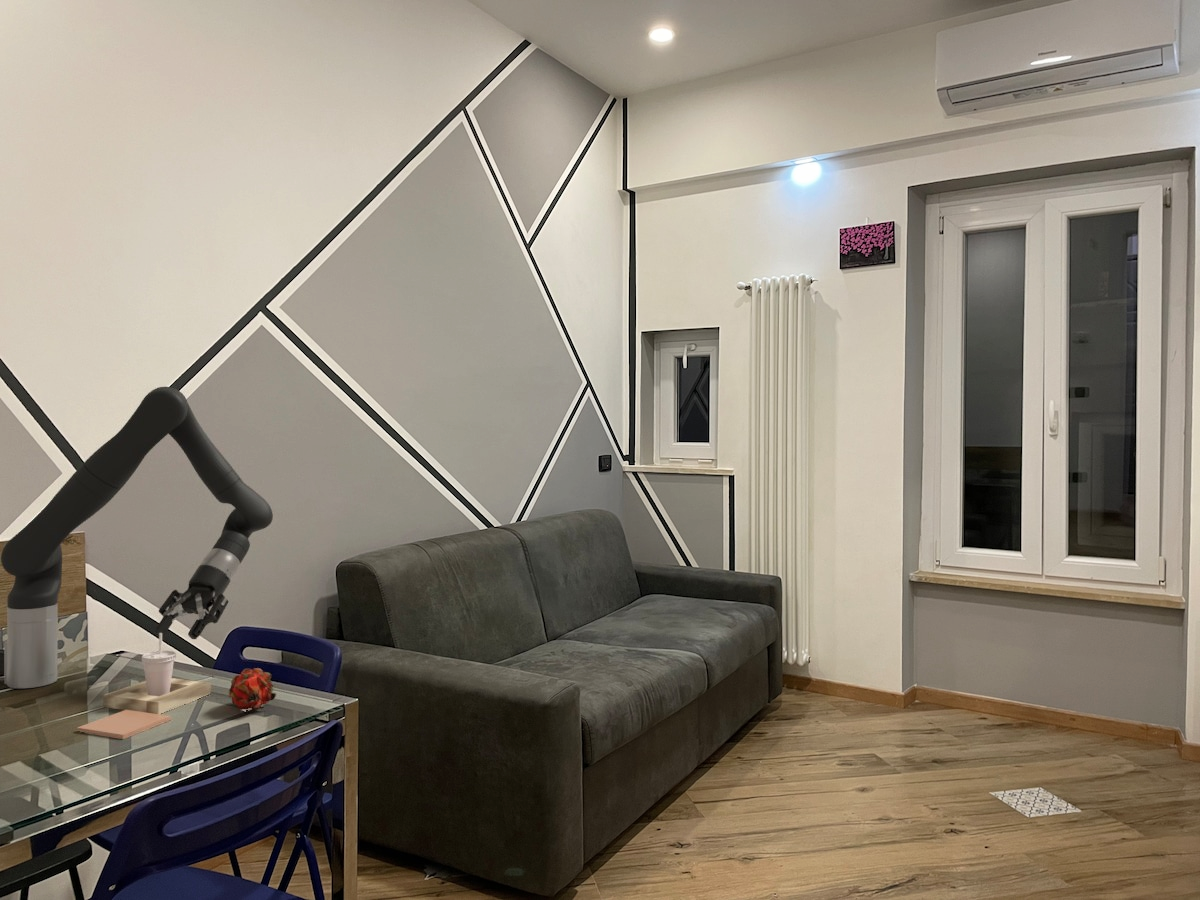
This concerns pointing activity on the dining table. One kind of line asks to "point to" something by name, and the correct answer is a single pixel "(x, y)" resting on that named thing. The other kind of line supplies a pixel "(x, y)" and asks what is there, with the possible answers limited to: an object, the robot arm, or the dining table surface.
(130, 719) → the coaster
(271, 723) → the dining table surface
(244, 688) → the dragon fruit
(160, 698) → the block
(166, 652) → the smoothie
